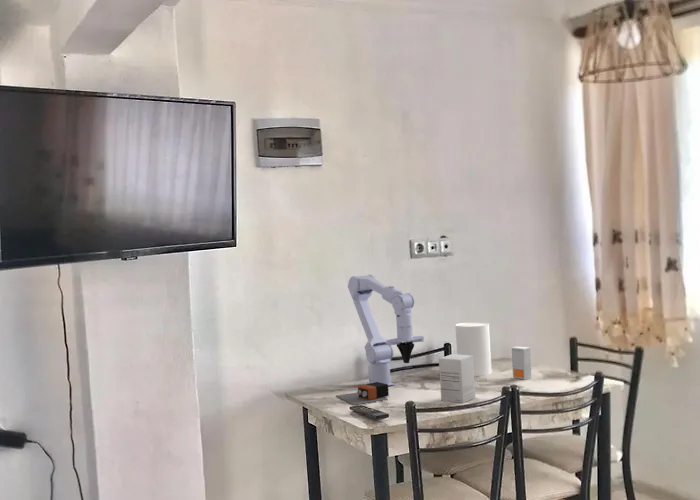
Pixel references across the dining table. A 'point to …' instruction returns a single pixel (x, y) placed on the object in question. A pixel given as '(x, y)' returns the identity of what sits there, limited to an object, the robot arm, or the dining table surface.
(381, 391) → the battery
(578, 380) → the dining table surface
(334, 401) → the dining table surface
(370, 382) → the robot arm
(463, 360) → the supplement box
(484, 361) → the canister
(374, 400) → the mat
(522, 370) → the skincare box
